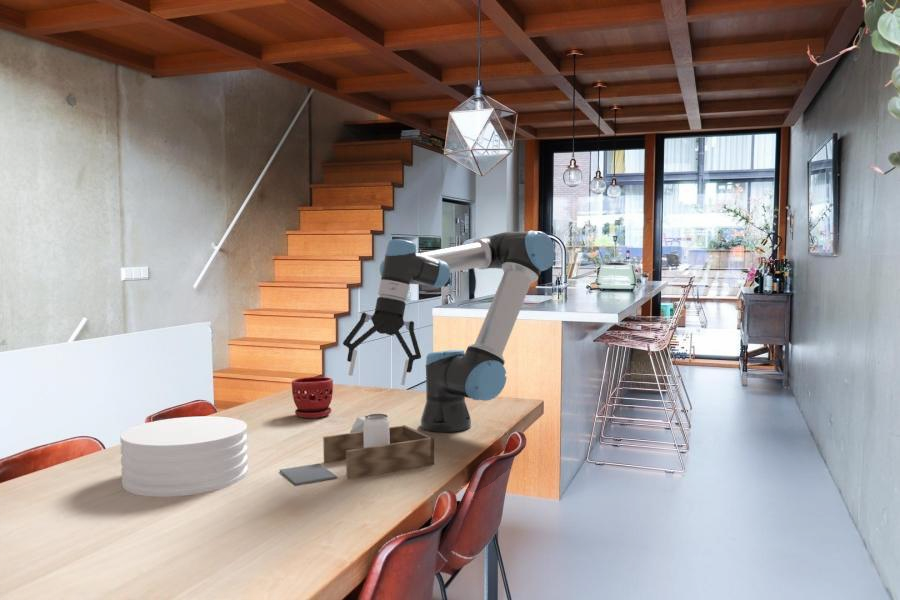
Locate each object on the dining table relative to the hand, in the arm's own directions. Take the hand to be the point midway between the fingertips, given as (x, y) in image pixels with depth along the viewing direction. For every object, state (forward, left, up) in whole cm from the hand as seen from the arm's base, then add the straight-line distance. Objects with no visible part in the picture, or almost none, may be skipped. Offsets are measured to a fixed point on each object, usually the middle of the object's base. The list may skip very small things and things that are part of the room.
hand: (376, 380), depth 186 cm
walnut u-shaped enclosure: (+2, +5, -20) cm, 21 cm away
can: (+3, +5, -20) cm, 21 cm away
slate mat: (+21, +5, -20) cm, 29 cm away
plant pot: (-2, -55, -20) cm, 59 cm away
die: (-1, -10, -20) cm, 23 cm away
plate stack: (+45, -9, -20) cm, 51 cm away
